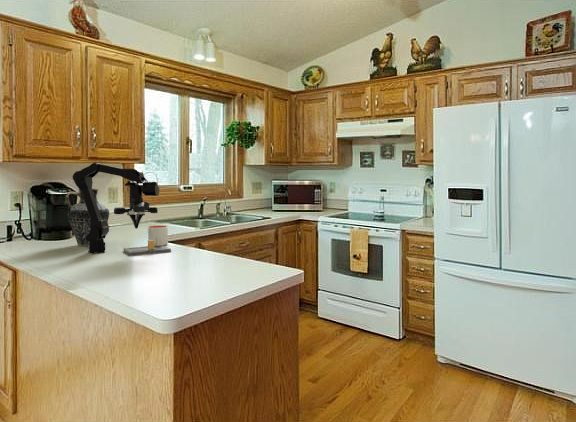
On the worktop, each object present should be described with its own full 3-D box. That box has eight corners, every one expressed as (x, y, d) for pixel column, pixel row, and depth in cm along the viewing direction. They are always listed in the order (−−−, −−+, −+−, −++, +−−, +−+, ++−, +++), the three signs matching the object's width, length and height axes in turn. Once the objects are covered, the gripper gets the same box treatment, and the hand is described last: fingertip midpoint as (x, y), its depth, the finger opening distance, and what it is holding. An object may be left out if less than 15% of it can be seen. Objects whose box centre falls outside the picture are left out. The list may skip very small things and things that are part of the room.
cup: (162, 247, 206) (161, 228, 206) (144, 246, 208) (144, 227, 208) (171, 244, 216) (171, 225, 215) (154, 243, 218) (154, 225, 217)
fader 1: (149, 249, 189) (148, 240, 189) (148, 248, 191) (147, 240, 190) (154, 248, 190) (154, 240, 190) (153, 248, 192) (152, 239, 192)
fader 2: (156, 245, 199) (156, 237, 199) (155, 245, 200) (155, 237, 200) (161, 245, 200) (161, 237, 200) (160, 244, 202) (160, 236, 202)
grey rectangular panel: (129, 255, 183) (129, 252, 183) (123, 251, 193) (123, 248, 193) (170, 251, 193) (170, 248, 193) (162, 247, 204) (162, 244, 204)
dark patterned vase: (98, 241, 224) (96, 187, 221) (117, 244, 212) (116, 188, 210) (59, 245, 207) (57, 188, 204) (78, 250, 196) (76, 189, 193)
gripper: (117, 196, 176) (118, 231, 177) (160, 196, 186) (160, 229, 187) (113, 195, 185) (113, 228, 186) (154, 195, 195) (154, 226, 196)
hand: (136, 228), depth 189 cm, fingers closed
